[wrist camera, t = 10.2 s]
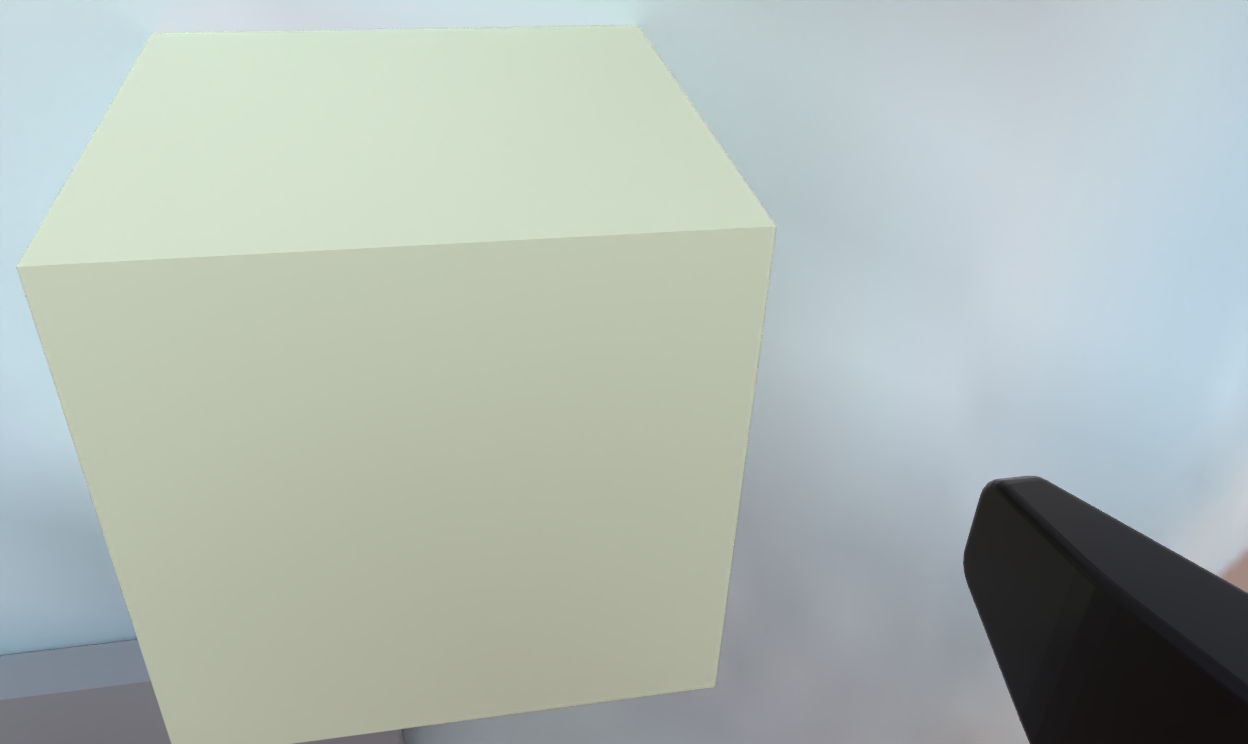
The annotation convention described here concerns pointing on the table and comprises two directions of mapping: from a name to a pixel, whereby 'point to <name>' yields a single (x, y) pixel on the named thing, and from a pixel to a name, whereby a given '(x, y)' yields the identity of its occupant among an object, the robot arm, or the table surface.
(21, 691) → the gray flat panel
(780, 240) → the table surface
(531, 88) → the sage block
